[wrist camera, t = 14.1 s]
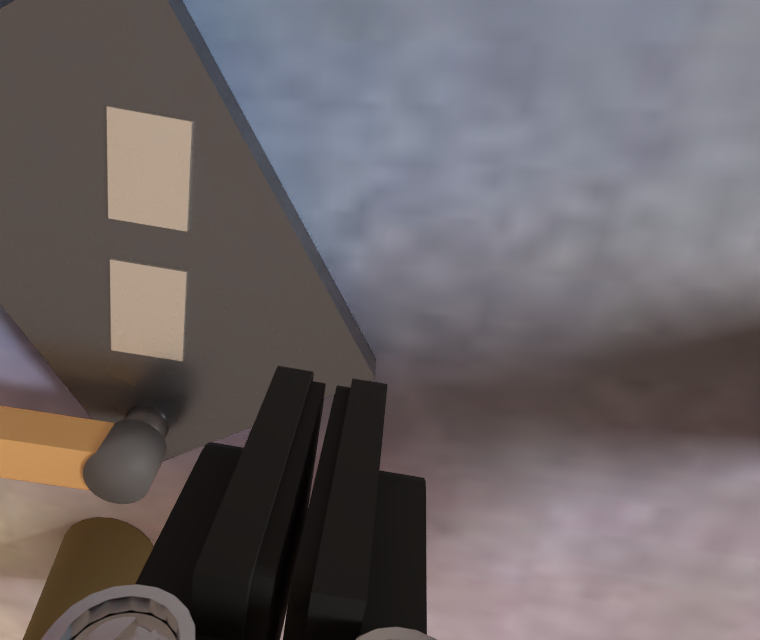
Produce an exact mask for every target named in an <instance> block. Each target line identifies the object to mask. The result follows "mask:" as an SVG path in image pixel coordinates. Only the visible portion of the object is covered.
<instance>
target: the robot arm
mask: <svg viewBox="0 0 760 640" xmlns="http://www.w3.org/2000/svg"><path fill="white" fill-rule="evenodd" d="M313 378H314V372H313V371H307V370H301V369H295V368H289V367H283V366H278V367H277V368H276V371H275V373H274V376H273V378H272V380H271V383H270V385H269V388H268V390H267V393H266V395H265V398H264V400H263V402H262V405H261V407H260V410H259V412H258V415H257V417H256V420H255V422H254V424H253V427H252V429H251V432H250V434H249V437H248V439H247V442H246V444H245V446H244V448H242V447H236V446H230V445H224V444H218V443H212V442H209V443H207V444H206V445H205V447H204V448H203V450H202V452H201V454H200V456H199V458H198V460H197V462H196V464H195V466H194V468H193V470H192V472H191V474H190V476H189V478H188V480H187V482H186V484H185V486H184V488H183V490H182V492H181V494H180V496H179V498H178V500H177V502H176V504H175V506H174V508H173V510H172V512H171V514H170V516H169V518H168V520H167V522H166V524H165V526H164V528H163V530H162V531H161V533H160V535H159V537H158V539H157V541H156V543H155V545H154V547H153V549H152V551H151V553H150V555H149V557H148V559H147V561H146V563H145V565H144V567H143V569H142V571H141V573H140V575H139V577H138V579H137V581H136V583H135V585H124V586H114V587H111V588H108V589H105V590H102V591H99V592H96V593H93V594H91V595H89V596H87V597H86V598H84V599H82V600H81V601H79V602H77V603H76V604H74V605H72V606H71V607H70V608H69V609H68V610H67V611H66V612H65V613H64V614H63V615H62V616H60V617H59V618H58V619H57V620H56V621H55V622H54V623H53V625H52V626H51V627H50V628H49V630H48V631H47V632H46V633H45V635H44V636H43V637H42V638H41V640H280V637H281V632H282V628H283V624H284V619H285V615H286V621H285V629H284V636H283V640H437V639H435V638H433V637H430V636H428V635H427V601H426V483H425V479H424V478H421V477H415V476H409V475H403V474H397V473H391V472H385V471H379V467H380V456H381V446H382V435H383V425H384V414H385V404H386V393H387V384H383V383H378V382H372V381H366V380H360V379H354V378H352V383H351V387H345V386H339V385H337V386H336V391H335V395H334V399H333V404H332V408H331V412H330V417H329V421H328V425H327V430H326V434H325V438H324V443H323V447H322V451H321V456H320V460H319V464H318V469H317V473H316V477H315V482H314V486H313V490H312V495H311V499H310V503H309V498H310V491H311V485H312V478H313V471H314V464H315V457H316V450H317V443H318V436H319V429H320V422H321V415H322V408H323V402H324V395H325V387H326V383H321V382H315V381H313ZM308 505H309V508H308ZM287 606H288V607H287ZM286 610H287V614H286Z"/></svg>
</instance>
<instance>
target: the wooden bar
mask: <svg viewBox="0 0 760 640" xmlns="http://www.w3.org/2000/svg"><path fill="white" fill-rule="evenodd" d="M166 450H167V448H166V442H165V440H164V438H163V436H162V435H161V433H160V432H159V431H158V430H157V429H155V428H154V427H153V426H151V425H149V424H148V423H145V422H142V421H139V420H132V419H127V420H121V421H118V422H116V423H111V422H105V421H98V420H92V419H85V418H79V417H72V416H66V415H59V414H53V413H46V412H39V411H33V410H26V409H20V408H13V407H7V406H0V477H1V478H8V479H15V480H22V481H29V482H36V483H42V484H49V485H56V486H63V487H70V488H77V489H84V490H91V491H92V492H93V493H94V494H95V495H96V496H98V497H100V498H101V499H103V500H106V501H108V502H112V503H117V504H128V503H133V502H136V501H138V500H140V499H142V498H143V497H144V496H145V495H146V494H147V492H148V490H149V488H150V486H151V484H152V482H153V480H154V478H155V476H156V474H157V472H158V470H159V467H160V465H161V463H162V461H163V459H164V457H165V455H166Z"/></svg>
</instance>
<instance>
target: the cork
mask: <svg viewBox="0 0 760 640" xmlns="http://www.w3.org/2000/svg"><path fill="white" fill-rule="evenodd" d="M153 547H154V546H153V545H152V543H151V541H150V539H149V538H148V537H147V536H146V535H145V534H143V533H142V532H141V531H140V530H139V529H137V528H135V527H134V526H132V525H130V524H128V523H126V522H123V521H119V520H116V519H112V518H98V517H97V518H91V519H86V520H82V521H80V522H79V523H77V524H75V525H73V526H72V527H71V528H70V529H69V530H68V532H67V533H66V534H65V536H64V539H63V541H62V544H61V546H60V549H59V551H58V554H57V556H56V559H55V561H54V563H53V566H52V568H51V571H50V573H49V576H48V578H47V581H46V583H45V586H44V588H43V591H42V593H41V596H40V598H39V601H38V603H37V606H36V608H35V611H34V613H33V616H32V618H31V621H30V623H29V625H28V628H27V630H26V633H25V635H24V638H23V640H41V638H42V637H43V636H44V635H45V633H46V632H47V631H48V630H49V628H50V627H51V626H52V625H53V623H54V622H55V621H56V620H57V619H58V618H59V617H60V616H62V615H63V614H64V613H65V612H66V611H67V610H68V609H69V608H70V607H71V606H72V605H74V604H76V603H77V602H79V601H81V600H82V599H84V598H86V597H87V596H89V595H91V594H93V593H96V592H99V591H102V590H105V589H108V588H111V587H114V586H124V585H135V583H136V581H137V579H138V577H139V575H140V573H141V571H142V569H143V567H144V565H145V563H146V561H147V559H148V557H149V555H150V553H151V551H152V549H153Z"/></svg>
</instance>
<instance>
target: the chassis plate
mask: <svg viewBox="0 0 760 640" xmlns="http://www.w3.org/2000/svg"><path fill="white" fill-rule="evenodd" d="M0 304H1V306H2V307H3V308H4V309H5V311H6V312H7V313H8V314H9V316H10V317H11V318H12V319H13V321H14V322H15V323H16V324H17V326H18V327H19V328H20V329H21V331H22V332H23V333H24V334H25V336H26V337H27V338H28V339H29V341H30V342H31V343H32V344H33V346H34V347H35V348H36V349H37V351H38V352H39V353H40V354H41V355H42V357H43V358H44V359H45V360H46V362H47V363H48V364H49V365H50V367H51V368H52V369H53V370H54V372H55V373H56V374H57V375H58V377H59V378H60V379H61V380H62V382H63V383H64V384H65V385H66V387H67V388H68V389H69V390H70V392H71V393H72V394H73V395H74V397H75V398H76V399H77V400H78V402H79V403H80V404H81V405H82V406H83V408H84V409H85V410H86V411H87V413H88V414H89V415H90V416H91V418H92V419H93V420H98V421H105V422H111V423H116V422H118V421H121V420H127V419H132V420H139V421H142V422H145V423H148V424H149V425H151V426H153V427H154V428H155V429H157V430H158V431H159V432H160V433H161V435H162V436H163V438H164V440H165V442H166V448H167V450H166V455H165V457H164V459H163V461H165V460H168V459H170V458H173V457H175V456H178V455H180V454H183V453H185V452H188V451H191V450H193V449H196V448H198V447H201V446H203V445H206V444H207V443H209V442H214V441H216V440H219V439H221V438H224V437H226V436H229V435H231V434H234V433H237V432H239V431H242V430H244V429H247V428H249V427H252V426H253V424H254V422H255V420H256V417H257V415H258V412H259V410H260V407H261V405H262V402H263V400H264V398H265V395H266V393H267V390H268V388H269V385H270V383H271V380H272V378H273V376H274V373H275V371H276V368H277V367H278V366H283V367H289V368H295V369H301V370H307V371H313V372H314V378H313V381H315V382H321V383H326V387H325V395H324V398H326V397H329V396H331V395H334V394H335V391H336V386H337V385H339V386H345V387H351V383H352V378H354V379H360V380H366V381H369V380H372V379H374V378H375V368H376V358H375V356H374V354H373V353H372V351H371V349H370V347H369V345H368V343H367V342H366V340H365V338H364V336H363V334H362V332H361V330H360V329H359V327H358V325H357V323H356V321H355V319H354V317H353V316H352V314H351V312H350V310H349V308H348V306H347V305H346V303H345V301H344V299H343V297H342V295H341V293H340V292H339V290H338V288H337V286H336V284H335V282H334V280H333V279H332V277H331V275H330V273H329V271H328V269H327V267H326V266H325V264H324V262H323V260H322V258H321V256H320V255H319V253H318V251H317V249H316V247H315V245H314V243H313V242H312V240H311V238H310V236H309V234H308V232H307V230H306V229H305V227H304V225H303V223H302V221H301V219H300V218H299V216H298V214H297V212H296V210H295V208H294V206H293V205H292V203H291V201H290V199H289V197H288V195H287V193H286V192H285V190H284V188H283V186H282V184H281V182H280V180H279V179H278V177H277V175H276V173H275V171H274V169H273V168H272V166H271V164H270V162H269V160H268V158H267V156H266V155H265V153H264V151H263V149H262V147H261V145H260V143H259V142H258V140H257V138H256V136H255V134H254V132H253V131H252V129H251V127H250V125H249V123H248V121H247V119H246V118H245V116H244V114H243V112H242V110H241V108H240V106H239V105H238V103H237V101H236V99H235V97H234V95H233V93H232V92H231V90H230V88H229V86H228V84H227V82H226V81H225V79H224V77H223V75H222V73H221V71H220V69H219V68H218V66H217V64H216V62H215V60H214V58H213V56H212V55H211V53H210V51H209V49H208V47H207V45H206V44H205V42H204V40H203V38H202V36H201V34H200V32H199V31H198V29H197V27H196V25H195V23H194V21H193V19H192V18H191V16H190V14H189V12H188V10H187V8H186V7H185V5H184V3H183V1H182V0H14V1H12V2H11V3H9V4H7V5H6V6H4V7H2V8H1V9H0Z"/></svg>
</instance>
